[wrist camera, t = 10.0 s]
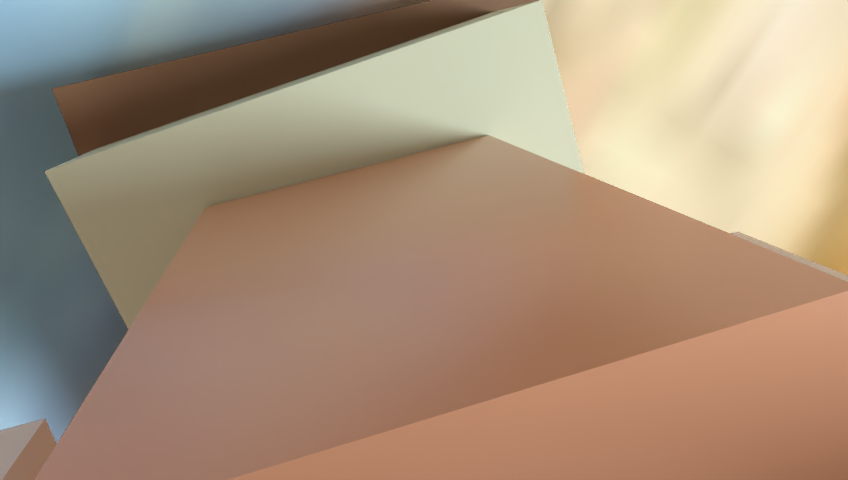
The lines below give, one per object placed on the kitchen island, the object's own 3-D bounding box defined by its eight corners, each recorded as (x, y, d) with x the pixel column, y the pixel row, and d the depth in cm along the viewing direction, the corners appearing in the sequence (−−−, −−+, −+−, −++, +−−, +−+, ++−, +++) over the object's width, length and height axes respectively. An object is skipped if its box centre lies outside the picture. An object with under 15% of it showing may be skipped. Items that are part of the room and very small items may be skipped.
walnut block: (96, 83, 21) (51, 88, 17) (496, -11, 23) (536, -25, 19) (229, 434, 25) (217, 500, 22) (557, 335, 27) (600, 381, 23)
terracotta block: (205, 207, 15) (-12, 552, 4) (488, 135, 16) (859, 286, 5) (289, 452, 17) (273, 1070, 7) (534, 378, 18) (861, 825, 7)
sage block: (99, 147, 18) (44, 170, 14) (493, 11, 19) (541, -1, 15) (263, 480, 22) (255, 569, 18) (585, 352, 23) (642, 411, 19)
